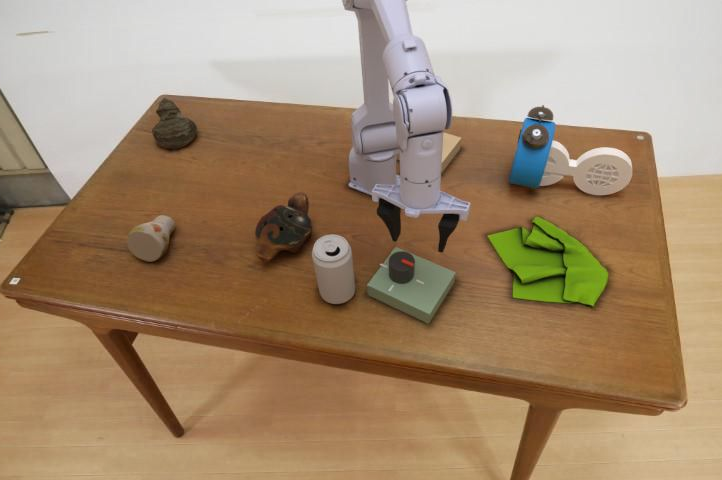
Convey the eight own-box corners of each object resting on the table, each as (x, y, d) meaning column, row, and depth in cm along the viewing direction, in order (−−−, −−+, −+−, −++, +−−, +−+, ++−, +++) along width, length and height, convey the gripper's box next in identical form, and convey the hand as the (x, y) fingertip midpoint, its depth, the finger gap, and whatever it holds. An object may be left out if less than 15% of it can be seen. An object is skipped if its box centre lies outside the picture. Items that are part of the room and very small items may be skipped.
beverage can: (328, 312, 83) (320, 268, 73) (314, 286, 86) (304, 241, 77) (361, 297, 84) (357, 252, 75) (346, 272, 88) (340, 226, 79)
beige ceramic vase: (188, 224, 98) (172, 211, 88) (171, 270, 96) (153, 261, 86) (152, 214, 97) (132, 199, 88) (134, 259, 96) (113, 249, 86)
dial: (384, 277, 83) (383, 263, 80) (396, 260, 85) (396, 246, 82) (406, 287, 82) (407, 273, 79) (418, 270, 84) (419, 256, 81)
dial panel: (366, 294, 85) (365, 283, 82) (394, 256, 90) (394, 245, 88) (428, 324, 80) (429, 313, 78) (454, 282, 86) (456, 271, 83)
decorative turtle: (328, 221, 96) (324, 194, 90) (290, 280, 89) (283, 254, 82) (286, 207, 99) (279, 179, 92) (246, 262, 91) (235, 236, 85)
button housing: (392, 158, 108) (392, 139, 104) (413, 134, 113) (413, 115, 109) (440, 175, 104) (442, 156, 100) (460, 149, 109) (462, 130, 105)
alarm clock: (534, 202, 97) (553, 140, 85) (503, 196, 99) (518, 134, 87) (543, 162, 105) (561, 100, 93) (514, 157, 106) (529, 96, 94)
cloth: (608, 318, 80) (613, 310, 78) (475, 290, 84) (477, 281, 82) (608, 231, 92) (612, 222, 90) (492, 210, 96) (494, 202, 95)
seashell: (203, 100, 115) (165, 96, 116) (177, 99, 104) (134, 95, 105) (204, 148, 119) (167, 144, 120) (179, 152, 108) (138, 148, 109)
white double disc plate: (620, 191, 98) (640, 151, 90) (620, 199, 97) (640, 159, 89) (511, 174, 103) (520, 135, 95) (509, 181, 102) (519, 141, 94)
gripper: (361, 178, 67) (367, 248, 76) (464, 198, 62) (456, 270, 72) (380, 151, 71) (383, 221, 81) (477, 168, 66) (468, 240, 76)
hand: (418, 242), depth 77 cm, fingers open, 7 cm apart
